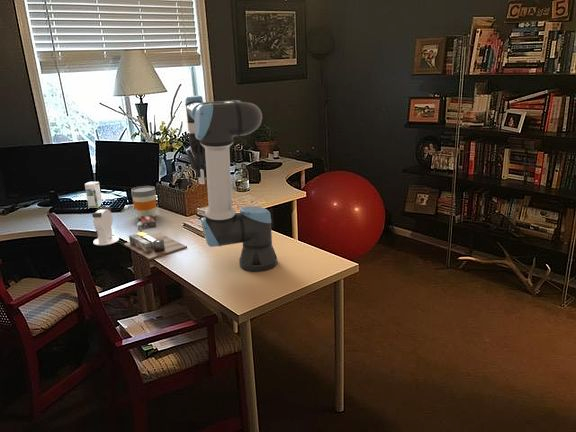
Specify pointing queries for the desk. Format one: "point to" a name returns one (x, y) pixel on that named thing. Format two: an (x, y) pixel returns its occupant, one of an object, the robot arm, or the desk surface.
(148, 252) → the board
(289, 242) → the desk surface
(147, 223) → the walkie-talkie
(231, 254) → the desk surface
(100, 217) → the white figurine
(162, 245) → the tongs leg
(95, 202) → the syrup box
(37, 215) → the desk surface
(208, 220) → the robot arm
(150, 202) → the reusable coffee cup
